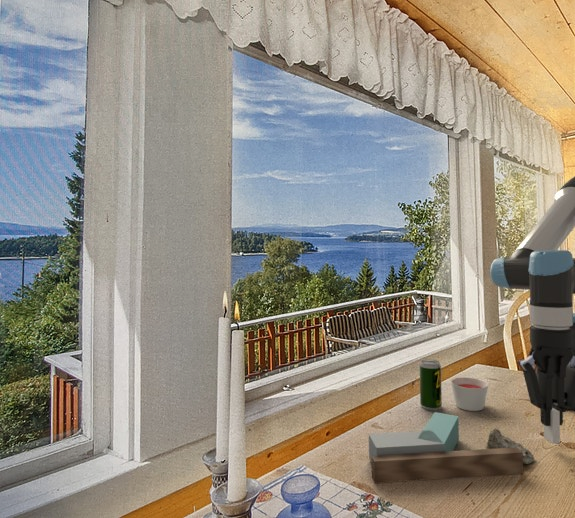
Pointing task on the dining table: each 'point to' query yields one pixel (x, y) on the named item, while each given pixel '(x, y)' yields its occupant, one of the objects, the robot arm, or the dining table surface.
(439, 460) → the walnut wall
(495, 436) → the rock sample
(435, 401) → the beer can
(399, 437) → the grey teal angled block
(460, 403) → the white cup
